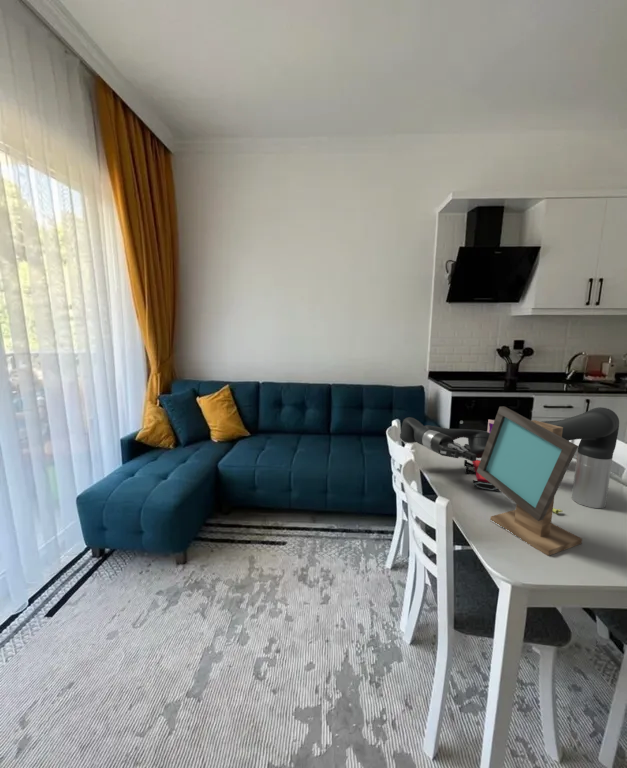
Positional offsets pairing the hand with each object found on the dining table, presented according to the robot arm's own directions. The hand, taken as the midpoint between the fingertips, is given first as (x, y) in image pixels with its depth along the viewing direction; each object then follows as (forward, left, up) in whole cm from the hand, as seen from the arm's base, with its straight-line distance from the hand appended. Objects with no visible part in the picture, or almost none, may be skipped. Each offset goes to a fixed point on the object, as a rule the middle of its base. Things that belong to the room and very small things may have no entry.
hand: (474, 458), depth 113 cm
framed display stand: (-4, +18, -17) cm, 25 cm away
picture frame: (0, +13, -7) cm, 14 cm away
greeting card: (-56, -35, -17) cm, 68 cm away
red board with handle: (-25, -16, -18) cm, 35 cm away
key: (-23, +9, -18) cm, 30 cm away
